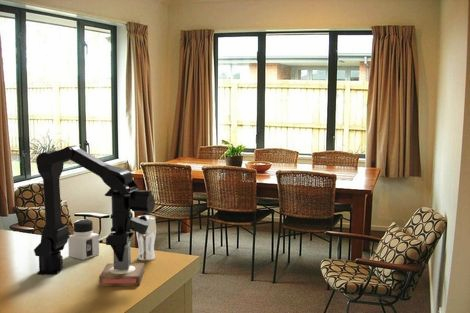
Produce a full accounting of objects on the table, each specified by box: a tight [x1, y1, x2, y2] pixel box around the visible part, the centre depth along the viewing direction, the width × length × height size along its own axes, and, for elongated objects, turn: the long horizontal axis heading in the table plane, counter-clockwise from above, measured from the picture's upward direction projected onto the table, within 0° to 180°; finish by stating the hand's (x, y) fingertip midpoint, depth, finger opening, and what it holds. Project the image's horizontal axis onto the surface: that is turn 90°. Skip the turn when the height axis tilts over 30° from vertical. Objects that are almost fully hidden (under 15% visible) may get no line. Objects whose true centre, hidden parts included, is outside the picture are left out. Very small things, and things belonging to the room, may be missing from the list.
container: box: [67, 218, 100, 261], centre depth 179 cm, size 8×8×13 cm
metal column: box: [112, 240, 132, 269], centre depth 156 cm, size 4×4×8 cm
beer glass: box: [135, 214, 157, 262], centre depth 176 cm, size 7×7×15 cm
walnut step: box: [98, 262, 145, 287], centre depth 156 cm, size 12×12×3 cm
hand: (122, 258), depth 156 cm, fingers closed on metal column, 4 cm apart
